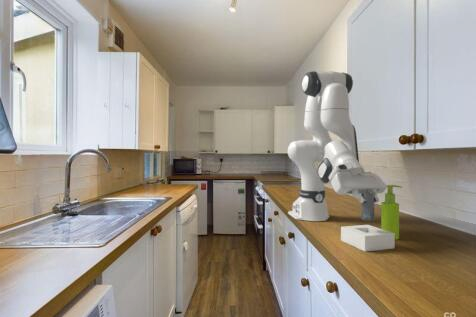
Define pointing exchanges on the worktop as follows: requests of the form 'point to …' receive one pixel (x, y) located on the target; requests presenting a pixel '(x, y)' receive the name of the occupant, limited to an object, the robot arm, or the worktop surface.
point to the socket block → (368, 237)
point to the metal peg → (368, 207)
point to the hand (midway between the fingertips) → (370, 201)
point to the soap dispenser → (390, 212)
